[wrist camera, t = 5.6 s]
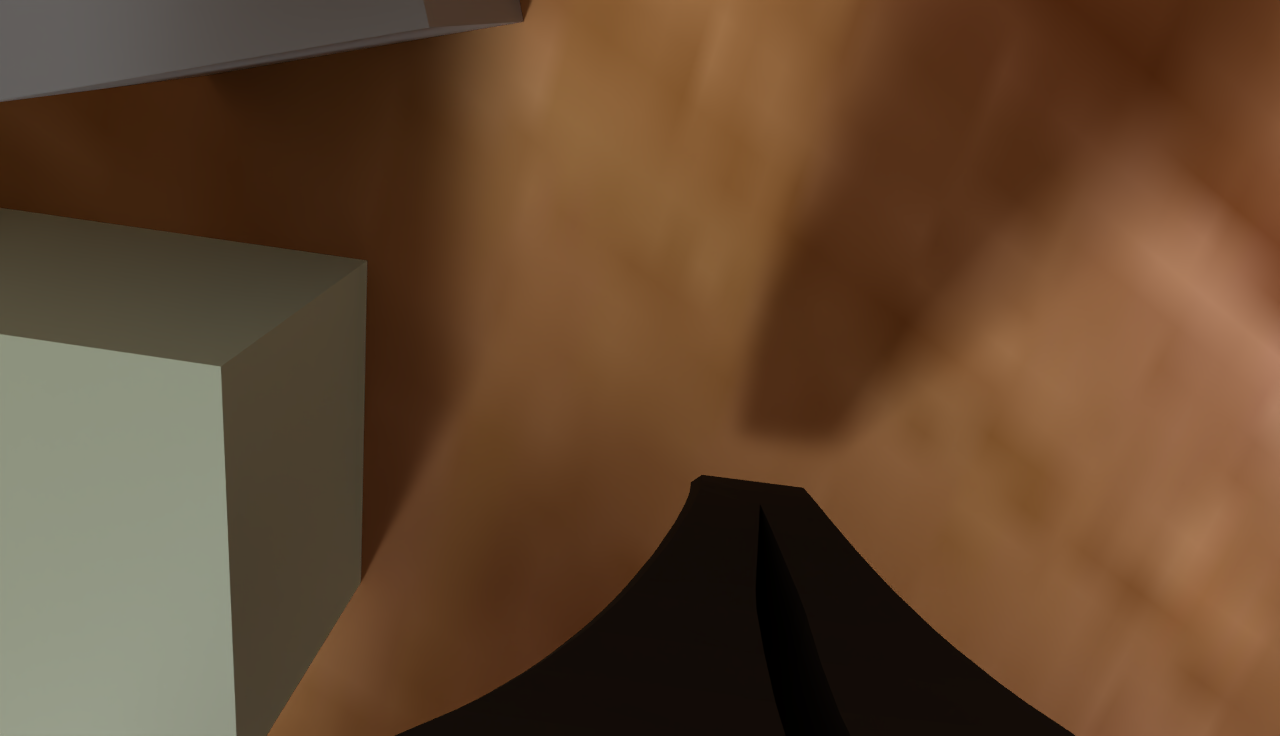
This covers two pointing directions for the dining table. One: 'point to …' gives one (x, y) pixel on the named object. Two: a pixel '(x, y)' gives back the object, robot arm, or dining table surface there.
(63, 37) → the grey cube
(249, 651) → the sage block
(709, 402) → the dining table surface
